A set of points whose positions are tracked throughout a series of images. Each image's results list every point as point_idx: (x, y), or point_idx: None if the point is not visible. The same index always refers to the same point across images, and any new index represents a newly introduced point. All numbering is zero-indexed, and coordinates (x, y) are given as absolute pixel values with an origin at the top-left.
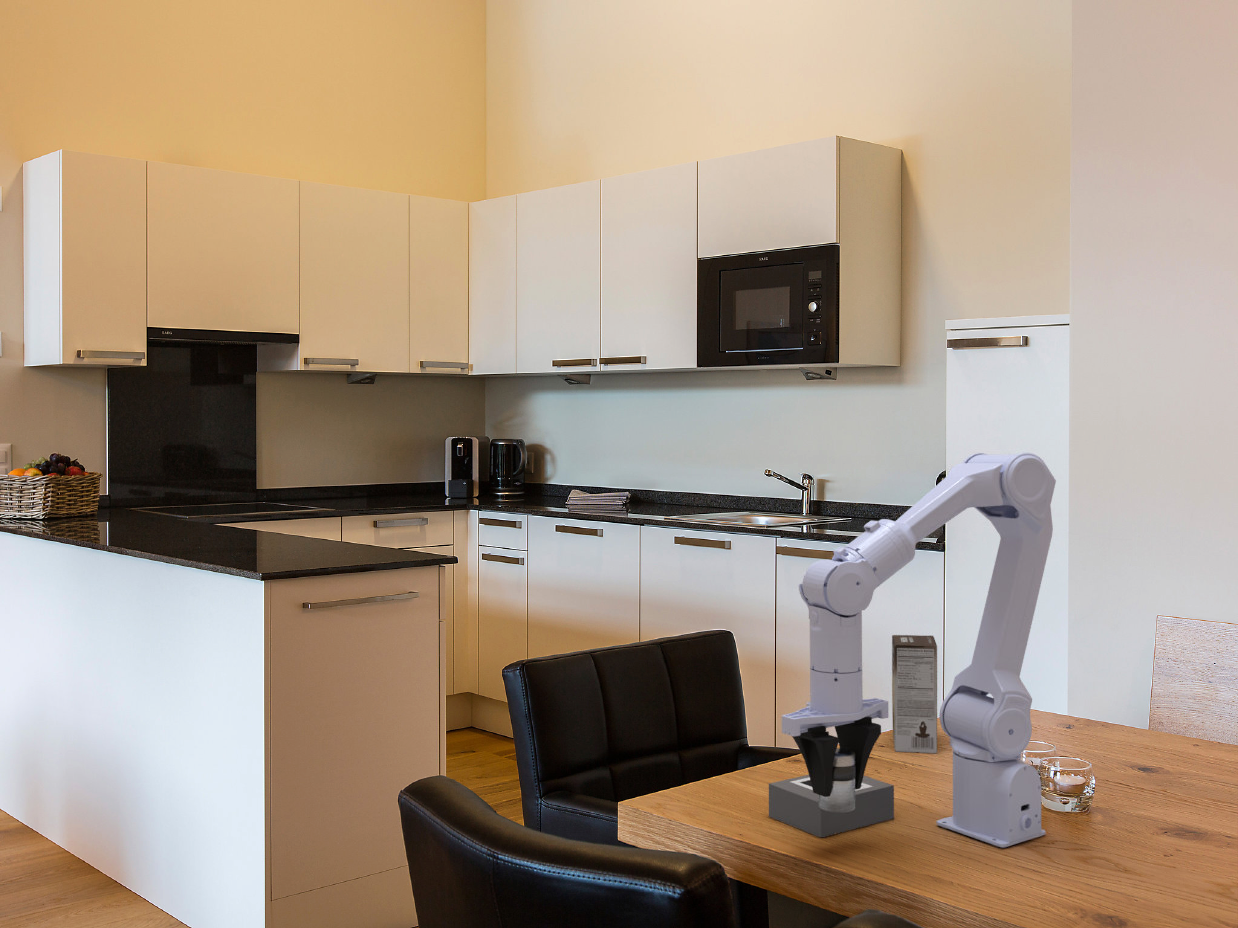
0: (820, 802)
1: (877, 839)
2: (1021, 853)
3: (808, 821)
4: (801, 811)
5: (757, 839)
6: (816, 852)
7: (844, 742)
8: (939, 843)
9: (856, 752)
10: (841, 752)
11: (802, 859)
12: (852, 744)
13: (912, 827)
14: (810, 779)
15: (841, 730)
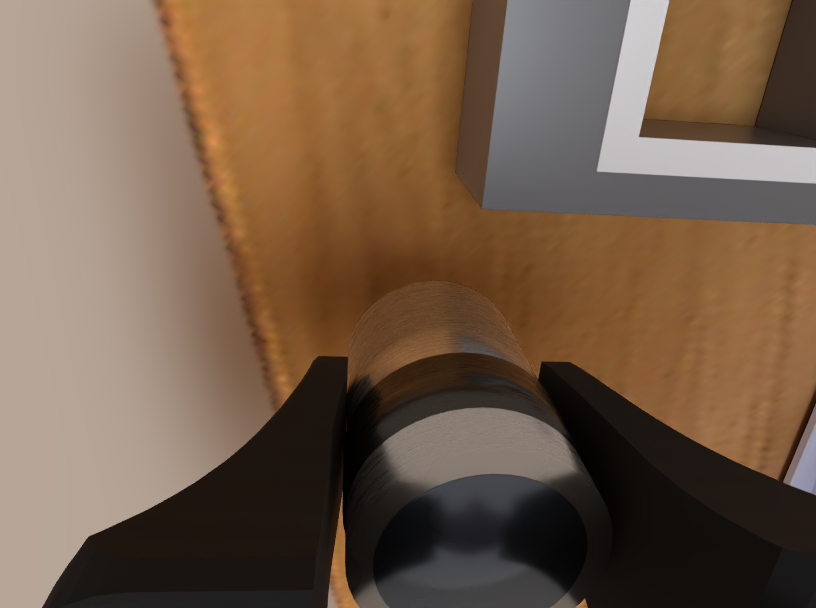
0: (351, 346)
1: (595, 299)
2: None
3: (472, 100)
4: (482, 54)
5: (225, 10)
6: (329, 263)
7: (654, 535)
8: (695, 422)
9: (603, 590)
10: (502, 574)
11: (239, 281)
12: (632, 606)
13: (783, 291)
14: (300, 383)
15: (716, 589)
